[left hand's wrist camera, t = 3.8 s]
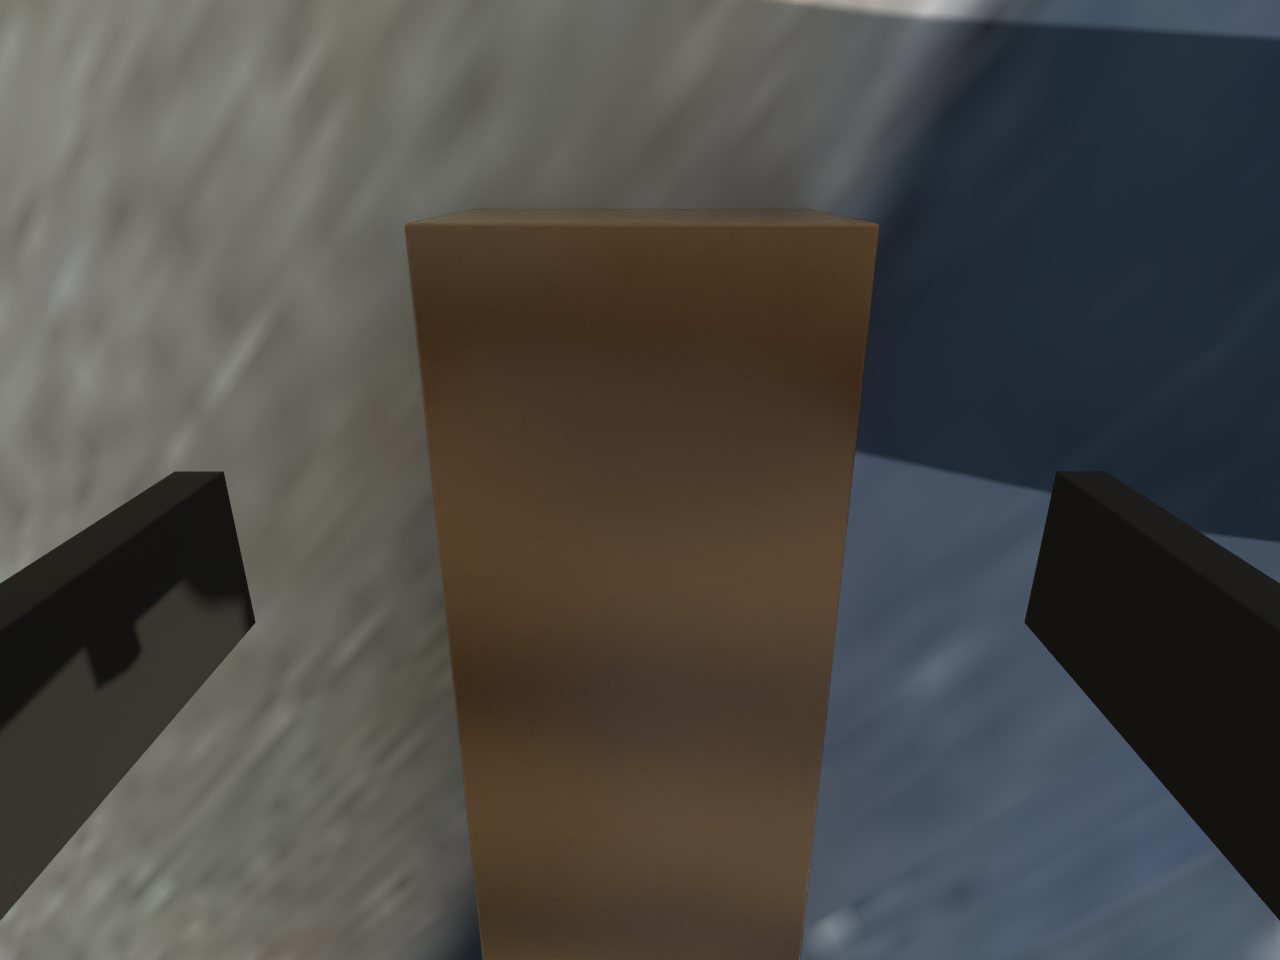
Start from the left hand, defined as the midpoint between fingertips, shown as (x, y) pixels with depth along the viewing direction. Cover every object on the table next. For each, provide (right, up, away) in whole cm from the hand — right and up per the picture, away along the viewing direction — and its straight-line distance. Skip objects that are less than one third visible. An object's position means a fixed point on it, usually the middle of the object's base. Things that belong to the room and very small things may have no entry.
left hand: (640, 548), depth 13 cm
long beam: (0, -25, +22) cm, 34 cm away
